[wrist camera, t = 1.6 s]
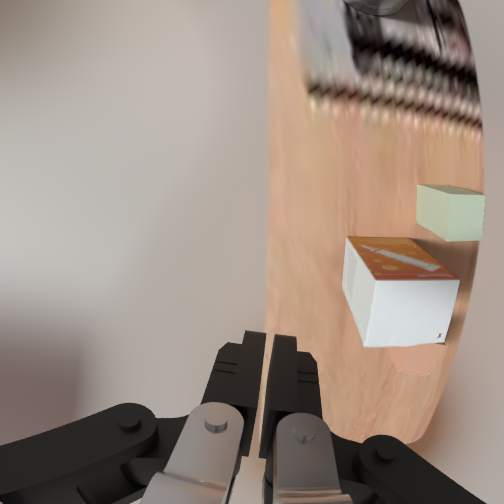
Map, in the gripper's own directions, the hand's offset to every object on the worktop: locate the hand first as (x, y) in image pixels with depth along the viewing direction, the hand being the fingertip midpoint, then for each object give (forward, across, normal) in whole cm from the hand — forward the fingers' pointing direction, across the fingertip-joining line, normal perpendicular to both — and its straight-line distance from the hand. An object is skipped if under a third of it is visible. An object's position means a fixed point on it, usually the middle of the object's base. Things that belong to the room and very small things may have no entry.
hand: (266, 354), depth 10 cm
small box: (+25, -12, +4) cm, 28 cm away
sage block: (+25, -18, -4) cm, 31 cm away
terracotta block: (+25, -18, +12) cm, 33 cm away
